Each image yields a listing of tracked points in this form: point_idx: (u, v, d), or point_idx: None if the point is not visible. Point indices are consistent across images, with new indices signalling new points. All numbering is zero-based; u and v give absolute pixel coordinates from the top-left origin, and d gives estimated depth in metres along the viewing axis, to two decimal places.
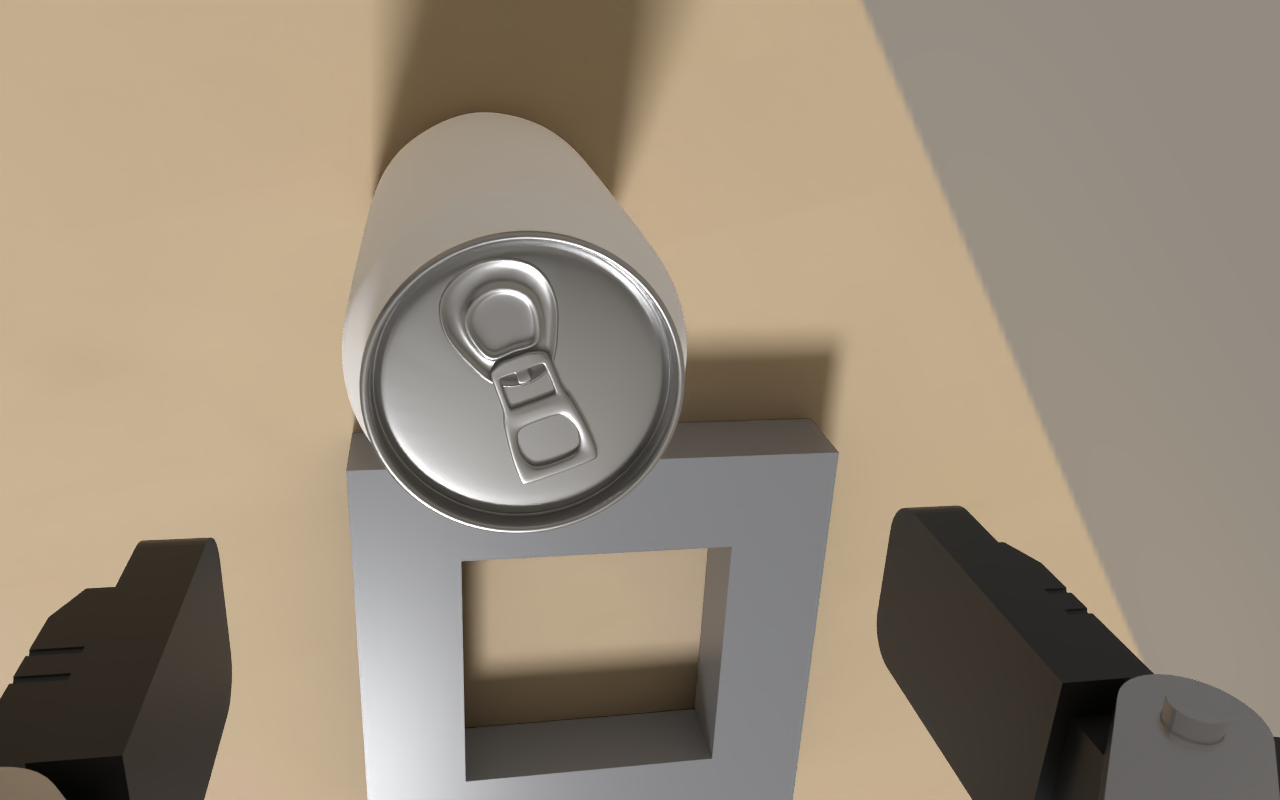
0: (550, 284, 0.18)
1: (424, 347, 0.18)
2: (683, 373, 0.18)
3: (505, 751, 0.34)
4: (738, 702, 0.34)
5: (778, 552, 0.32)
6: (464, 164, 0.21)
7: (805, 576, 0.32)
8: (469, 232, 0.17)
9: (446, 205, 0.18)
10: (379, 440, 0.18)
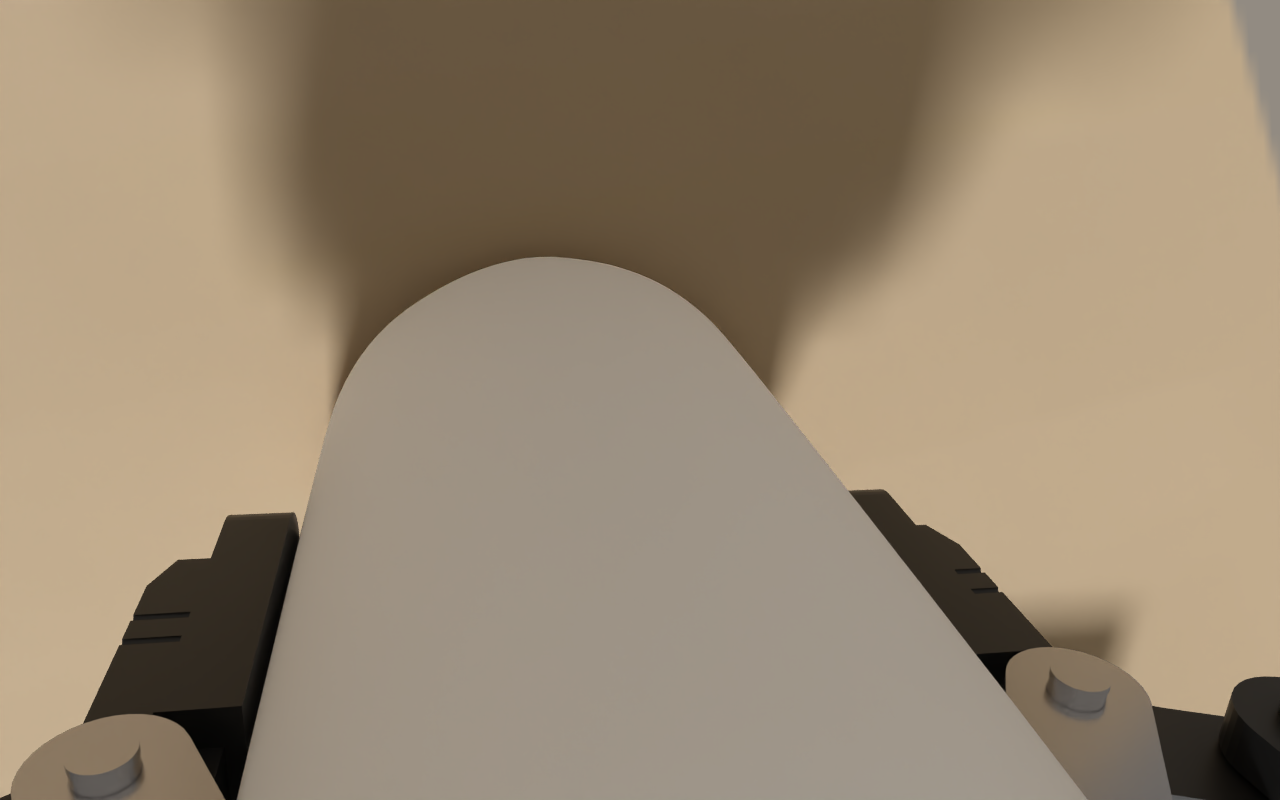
0: None
1: None
2: None
3: None
4: None
5: None
6: (535, 525, 0.07)
7: None
8: None
9: None
10: None
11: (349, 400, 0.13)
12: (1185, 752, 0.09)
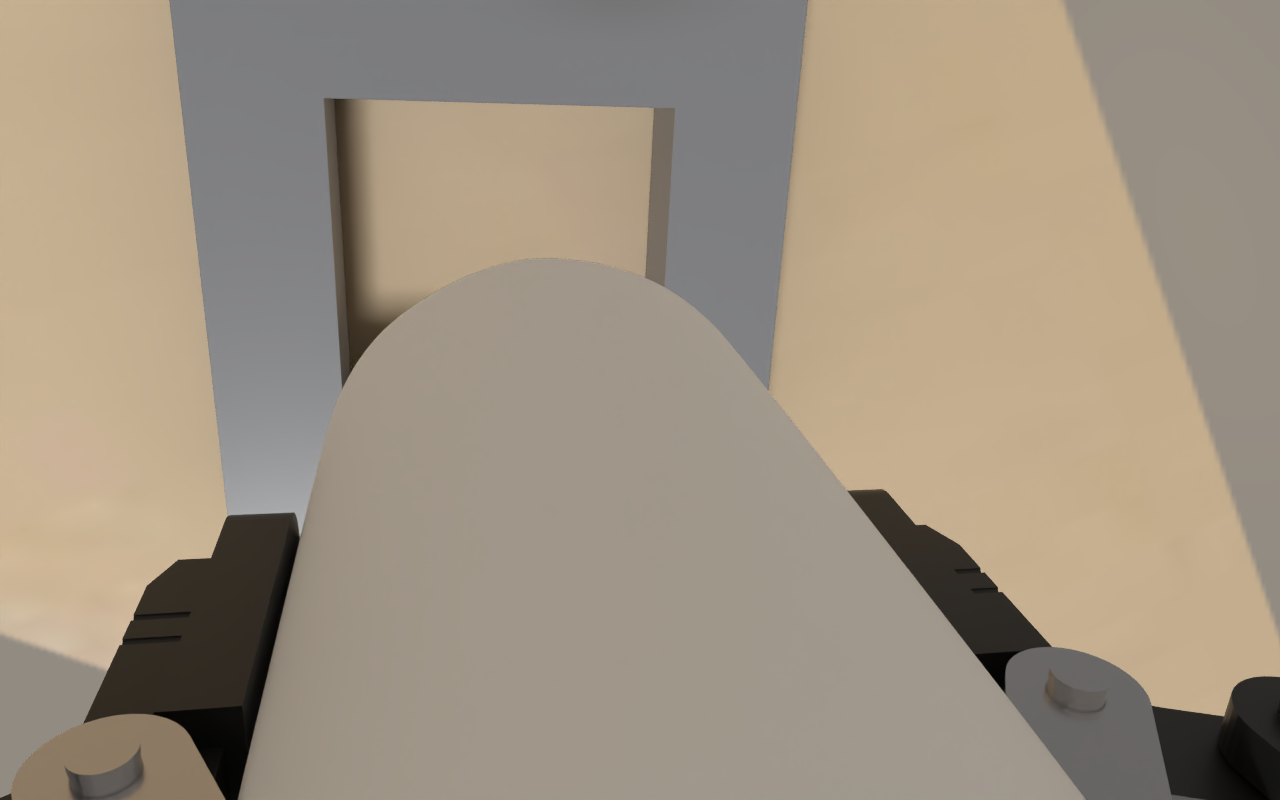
0: None
1: None
2: None
3: None
4: None
5: (734, 123, 0.25)
6: (535, 526, 0.07)
7: (769, 161, 0.26)
8: None
9: None
10: None
11: (349, 401, 0.13)
12: (1184, 752, 0.09)
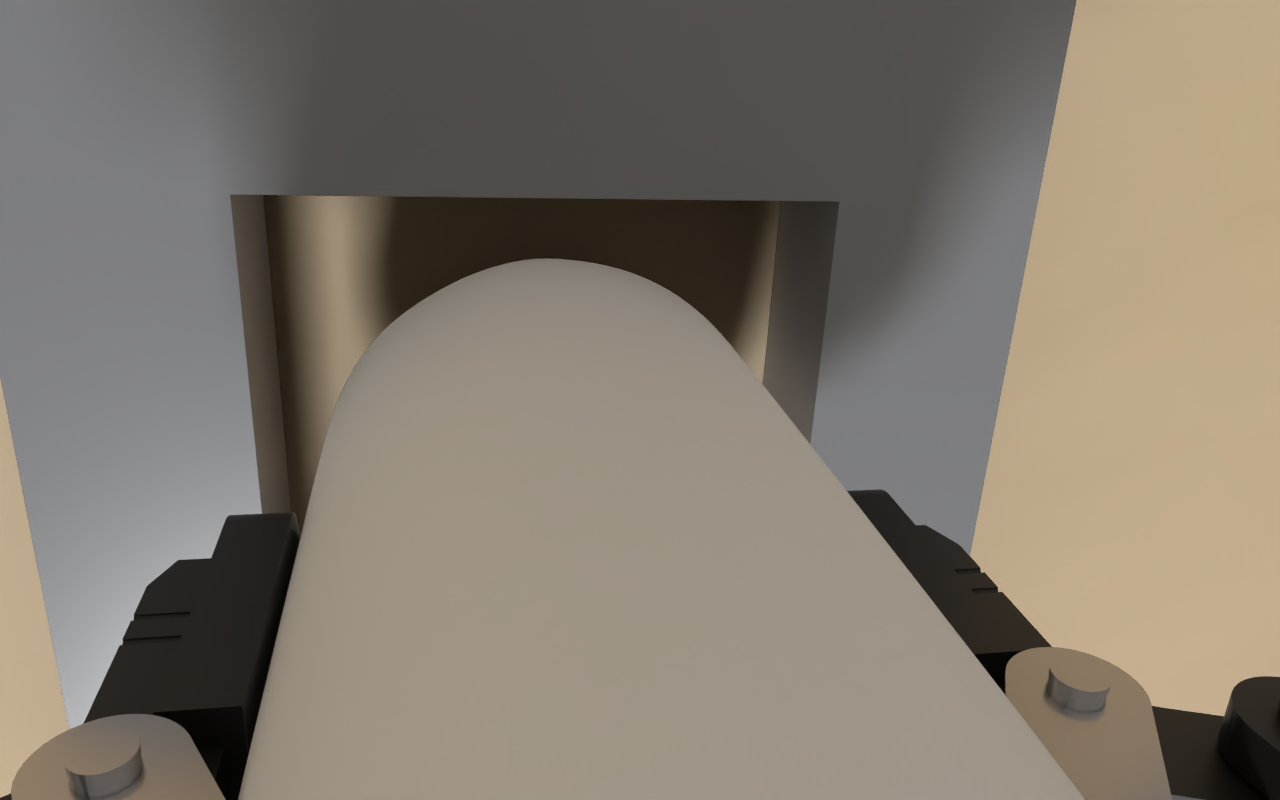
0: None
1: None
2: None
3: None
4: None
5: (936, 224, 0.15)
6: (536, 527, 0.07)
7: (987, 284, 0.15)
8: None
9: None
10: None
11: (349, 402, 0.13)
12: (1184, 752, 0.09)
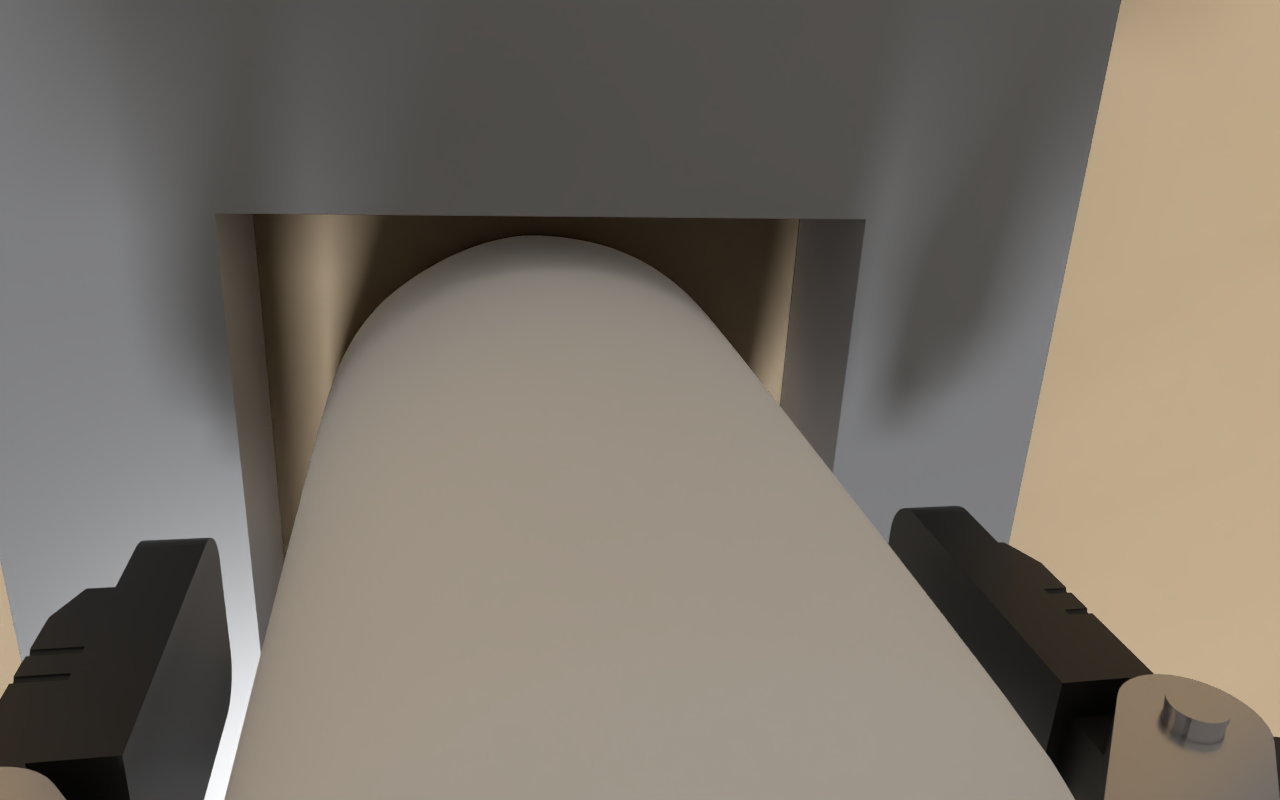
0: None
1: None
2: None
3: None
4: None
5: (968, 242, 0.14)
6: (513, 458, 0.08)
7: (1021, 307, 0.14)
8: None
9: (476, 715, 0.06)
10: None
11: (348, 368, 0.14)
12: None
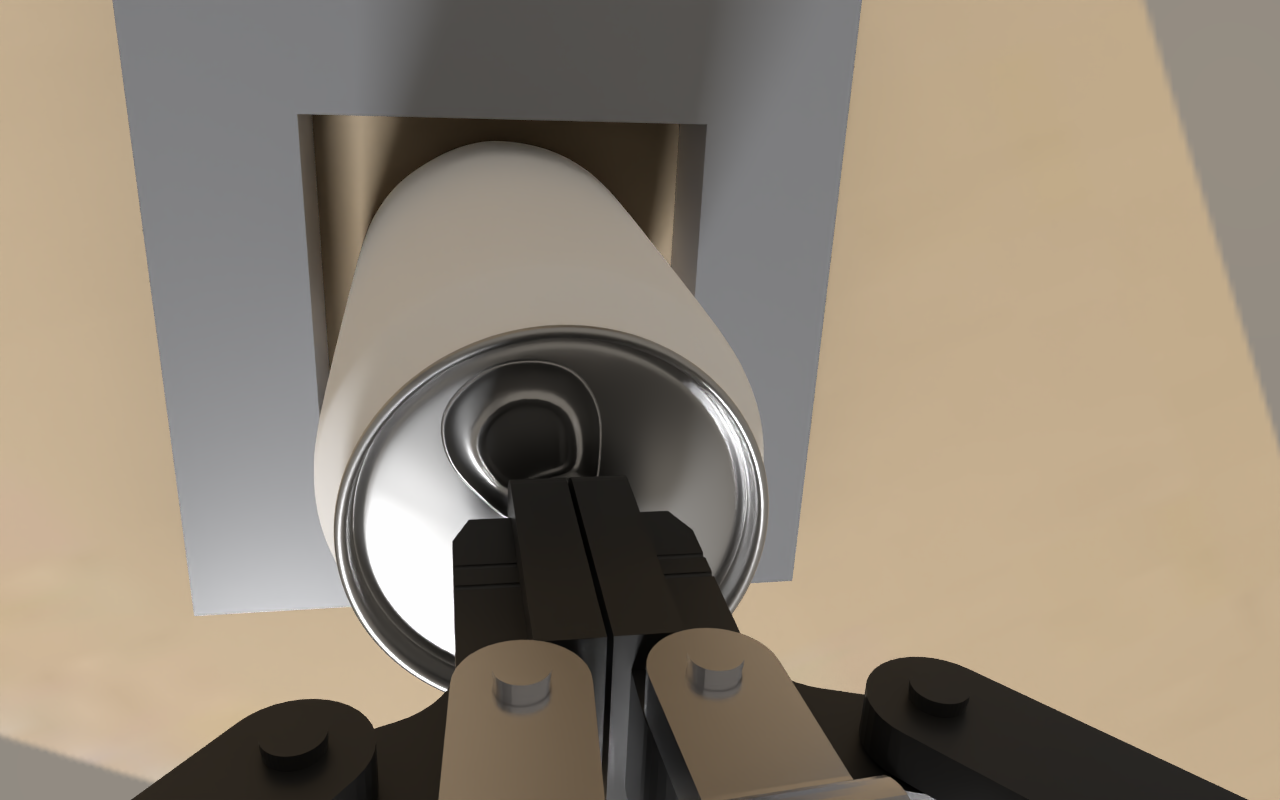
0: (591, 393, 0.13)
1: (421, 478, 0.13)
2: (766, 505, 0.14)
3: None
4: None
5: (775, 141, 0.22)
6: (474, 219, 0.16)
7: (815, 185, 0.22)
8: (481, 325, 0.13)
9: (451, 284, 0.13)
10: (361, 601, 0.13)
11: (377, 219, 0.21)
12: (825, 732, 0.09)
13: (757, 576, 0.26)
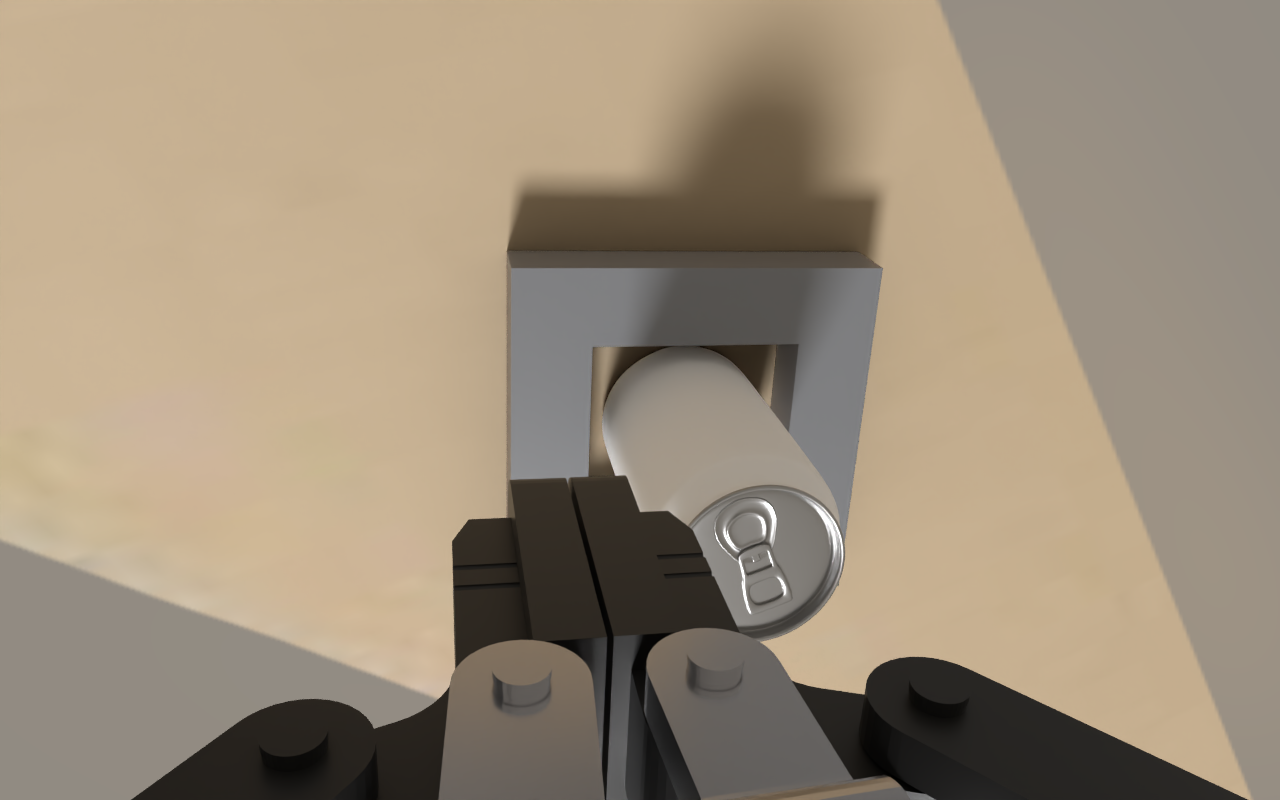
0: (774, 509, 0.32)
1: (704, 544, 0.32)
2: (844, 554, 0.33)
3: None
4: None
5: (834, 351, 0.41)
6: (705, 420, 0.35)
7: (855, 372, 0.41)
8: (731, 482, 0.32)
9: (713, 463, 0.32)
10: None
11: (624, 394, 0.40)
12: (825, 731, 0.09)
13: None
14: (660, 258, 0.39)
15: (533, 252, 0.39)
